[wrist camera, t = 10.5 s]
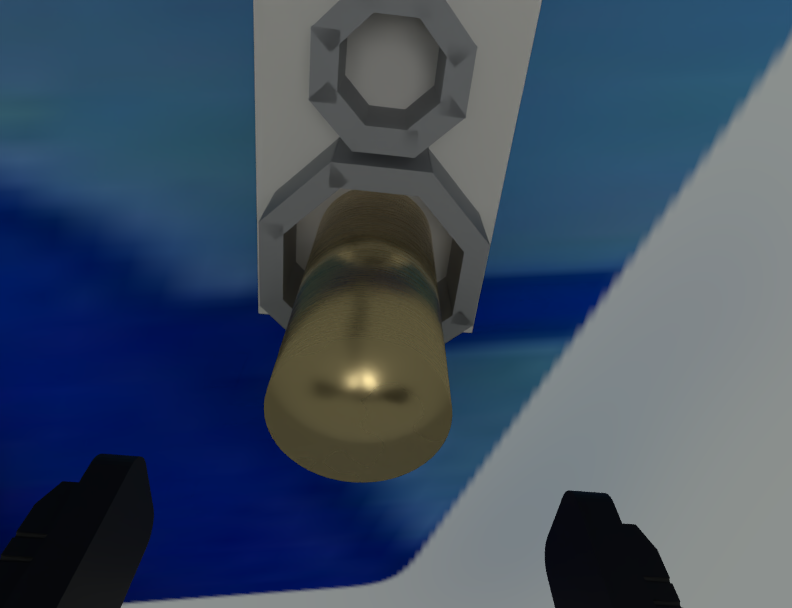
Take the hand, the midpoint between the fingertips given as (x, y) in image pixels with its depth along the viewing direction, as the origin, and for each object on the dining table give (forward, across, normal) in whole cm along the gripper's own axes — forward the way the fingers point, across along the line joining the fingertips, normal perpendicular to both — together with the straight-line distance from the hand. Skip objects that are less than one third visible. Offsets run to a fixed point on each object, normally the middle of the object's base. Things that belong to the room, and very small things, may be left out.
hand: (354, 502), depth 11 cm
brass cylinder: (+13, 0, 0) cm, 13 cm away
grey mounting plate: (+14, 0, -2) cm, 14 cm away
